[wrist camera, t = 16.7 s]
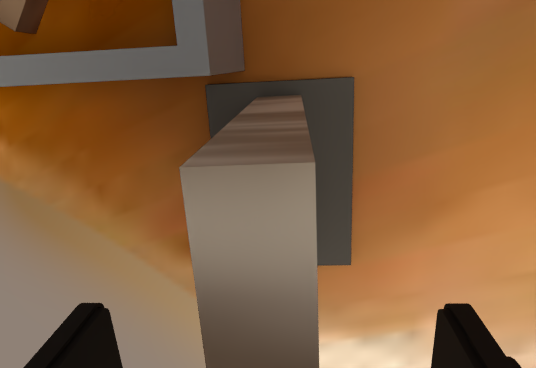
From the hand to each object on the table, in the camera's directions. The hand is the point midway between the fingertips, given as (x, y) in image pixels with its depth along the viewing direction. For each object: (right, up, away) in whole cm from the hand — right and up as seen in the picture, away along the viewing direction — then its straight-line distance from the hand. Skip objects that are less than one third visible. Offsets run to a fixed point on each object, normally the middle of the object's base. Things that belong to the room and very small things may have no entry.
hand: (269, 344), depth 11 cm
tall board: (+1, +5, +17) cm, 17 cm away
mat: (+1, +5, +17) cm, 18 cm away
